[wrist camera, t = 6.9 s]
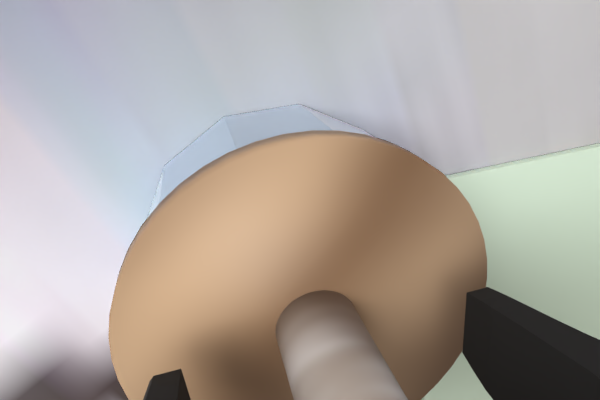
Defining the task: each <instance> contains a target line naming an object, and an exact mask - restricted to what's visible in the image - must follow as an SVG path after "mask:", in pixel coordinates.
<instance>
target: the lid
mask: <svg viewBox="0 0 600 400" xmlns="http://www.w3.org/2000/svg"><path fill="white" fill-rule="evenodd" d="M486 282H487V255H486V248H485V241H484V237H483V234H482V231H481V228H480V225H479V221H478V219H477V218H476V216H475V214H474V212H473V210H472V208H471V206H470V204H469V202H468V201H467V200H466V198H465V197H464V196H463V194H462V193H461V192H460V190H459V189H458V188H457V187H456V186H455V185H454V184H453V183H452V182H451V181H450V180H449V179H448V178H447V177H446V176H445V175H444V174H443V173H442V172H440V171H439V170H437V169H436V168H434V167H433V166H431V165H430V164H428V163H427V162H425V161H424V160H422V159H421V158H419V157H418V156H416V155H414V154H413V153H411V152H409V151H408V150H406V149H403V148H401V147H399V146H397V145H395V144H393V143H391V142H388V141H386V140H382V139H379V138H375V137H372V136H369V135H365V134H360V133H352V132H345V131H338V130H311V131H303V132H295V133H287V134H282V135H278V136H274V137H270V138H266V139H263V140H259V141H255V142H253V143H250V144H248V145H245V146H243V147H240V148H238V149H235V150H233V151H230V152H228V153H226V154H224V155H223V156H221V157H219V158H217V159H216V160H214V161H212V162H210V163H208V164H207V165H205V166H203V167H202V168H200V169H199V170H198V171H196V172H195V173H193V174H192V175H191V176H189V177H188V178H187V179H185V180H184V181H183V182H181V183H180V184H179V185H178V186H177V187H176V188H175V189H174V190H173V191H171V192H170V193H169V194H168V195H167V196H166V197H165V198H164V199H163V200H162V201H161V202H160V203H159V204H158V205H157V207H156V208H155V209H154V210H153V212H152V213H151V214H150V216H149V217H148V218H147V219H146V221H145V222H144V223H143V224H142V226H141V227H140V229H139V231H138V233H137V234H136V236H135V238H134V240H133V241H132V243H131V245H130V247H129V248H128V251H127V253H126V256H125V258H124V261H123V264H122V266H121V269H120V271H119V275H118V279H117V283H116V287H115V291H114V296H113V301H112V305H111V310H110V316H109V344H110V351H111V359H112V363H113V366H114V369H115V372H116V375H117V378H118V381H119V383H120V384H121V386H122V388H123V390H124V392H125V394H126V395H127V397H128V399H129V400H143V398H144V396H145V393H146V390H147V387H148V384H149V382H150V380H151V379H152V377H153V376H155V375H159V374H162V373H166V372H170V371H174V370H178V369H181V370H182V373H183V376H184V380H185V383H186V386H187V389H188V392H189V396H190V399H191V400H421V399H422V398H423V397H424V396H425V395H426V394H427V393H428V392H429V391H430V390H431V389H432V388H433V387H434V386H435V385H436V384H437V383H438V382H439V381H440V380H441V379H442V378H443V376H444V375H445V374H446V373H447V372H448V370H449V369H450V368H451V367H452V365H453V364H454V362H455V361H456V359H457V358H458V357H459V355H460V354H461V352H462V351H463V337H464V323H465V309H466V294H467V292H471V291H475V290H478V289H482V288H486Z"/></svg>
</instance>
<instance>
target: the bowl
mask: <svg viewBox="0 0 600 400" xmlns="http://www.w3.org/2000/svg"><path fill="white" fill-rule="evenodd" d="M311 130H338V131H345V132H352V133H360V134H365V135H369V136H372V135H371V134H369V133H367V132H366V131H364V130H363V129H360V128H358V127H355V126H353V125H350V124H348V123H345V122H343V121H341V120H338V119H336V118H333V117H331V116H328V115H326V114H323V113H321V112H318V111H316V110H313V109H311V108H308V107H306V106H303V105H301V104H296V105H290V106H284V107H278V108H272V109H266V110H260V111H254V112H248V113H242V114H236V115H230V116H224V117H223V118H221V119H220V120H219V121H218V122H217V123H215V124H214V125H213V126H212V127H211V128H209V129H208V130H207V131H206V132H205V133H203V134H202V135H201V136H200V137H198V138H197V139H196V140H195V141H194V142H192V143H191V144H190V145H189V146H188V147H186V148H185V149H184V150H183V151H181V152H180V153H179V154H178V155H177V156H175V157H174V158H173V159H172V160H171V161H169V162H168V163H167V164H166V165H164V168H163V171H162V174H161V177H160V180H159V183H158V186H157V189H156V193H155V196H154V199H153V202H152V205H151V208H150V211H149V214H148V217H149V216H150V214H151V213H152V212H153V210H154V209H155V208H156V207H157V205H158V204H159V203H160V202H161V201H162V200H163V199H164V198H165V197H166V196H167V195H168V194H169V193H170V192H171V191H173V190H174V189H175V188H176V187H177V186H178V185H179V184H180V183H181V182H183V181H184V180H185V179H187V178H188V177H189V176H191V175H192V174H193V173H195V172H196V171H198V170H199V169H200V168H202V167H203V166H205V165H207V164H208V163H210V162H212V161H214V160H216V159H217V158H219V157H221V156H223V155H224V154H226V153H228V152H230V151H233V150H235V149H238V148H240V147H243V146H245V145H248V144H250V143H253V142H255V141H259V140H263V139H266V138H270V137H274V136H278V135H282V134H287V133H295V132H303V131H311ZM372 137H374V136H372ZM148 217H147V218H148Z"/></svg>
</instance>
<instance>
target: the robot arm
mask: <svg viewBox="0 0 600 400" xmlns="http://www.w3.org/2000/svg"><path fill="white" fill-rule="evenodd" d="M462 353H463V355H464V356H465V358H466V360H467V361H468V363H469V365H470V366H471V368H472V370H473V371H474V373H475V374H476V376H477V377H478V379H479V381H480V382H481V384H482V385H483V387H484V388H485V390H486V391H487V392H488V394H489V395H490V396H491V398H492V399H493V400H600V340H599V339H597V338H595V337H592V336H590V335H588V334H586V333H584V332H581V331H579V330H577V329H575V328H573V327H571V326H569V325H567V324H564V323H562V322H560V321H558V320H556V319H554V318H552V317H550V316H548V315H546V314H544V313H542V312H540V311H538V310H536V309H534V308H531V307H529V306H527V305H525V304H523V303H521V302H519V301H517V300H515V299H513V298H511V297H509V296H507V295H505V294H503V293H500V292H498V291H496V290H494V289H491V288H489V287H486V288H482V289H478V290H475V291H471V292H467V294H466V309H465V323H464V337H463V351H462ZM143 400H191V399H190V396H189V392H188V389H187V386H186V383H185V380H184V376H183V373H182V370H181V369H178V370H174V371H170V372H166V373H162V374H159V375H155V376H153V377H152V379H151V380H150V382H149V384H148V387H147V390H146V393H145V396H144V398H143Z"/></svg>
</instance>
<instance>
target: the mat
mask: <svg viewBox="0 0 600 400" xmlns="http://www.w3.org/2000/svg"><path fill="white" fill-rule="evenodd" d="M446 177H447V178H448V179H449V180H450V181H451V182H452V183H453V184H454V185H455V186H456V187H457V188H458V189H459V190H460V192H461V193H462V194H463V196H464V197H465V198H466V200H467V201H468V202H469V204H470V206H471V208H472V210H473V212H474V214H475V216H476V218H477V219H478V221H479V225H480V228H481V231H482V234H483V237H484V241H485V248H486V255H487V282H486V287H489V288H491V289H494V290H496V291H498V292H500V293H503V294H505V295H507V296H509V297H511V298H513V299H515V300H517V301H519V302H521V303H523V304H525V305H527V306H529V307H531V308H534V309H536V310H538V311H540V312H542V313H544V314H546V315H548V316H550V317H552V318H554V319H556V320H558V321H560V322H562V323H564V324H567V325H569V326H571V327H573V328H575V329H577V330H579V331H581V332H584V333H586V334H588V335H590V336H592V337H595V338H597V339H599V340H600V143H598V144H593V145H589V146H584V147H579V148H574V149H570V150H565V151H560V152H555V153H551V154H546V155H541V156H536V157H532V158H527V159H522V160H517V161H513V162H508V163H503V164H498V165H494V166H489V167H484V168H479V169H475V170H470V171H465V172H460V173H456V174H451V175H446ZM421 400H493V399H492V398H491V396H490V395H489V394H488V392H487V391H486V390H485V388H484V387H483V385H482V384H481V382H480V381H479V379H478V377H477V376H476V374H475V373H474V371H473V370H472V368H471V366H470V365H469V363H468V361H467V360H466V358H465V356H464V355H463V353H462V352H461V354H460V355H459V357H458V358H457V359H456V361H455V362H454V364H453V365H452V367H451V368H450V369H449V370H448V372H447V373H446V374H445V375H444V376H443V378H442V379H441V380H440V381H439V382H438V383H437V384H436V385H435V386H434V387H433V388H432V389H431V390H430V391H429V392H428V393H427V394H426V395H425V396H424V397H423V398H422V399H421Z"/></svg>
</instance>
